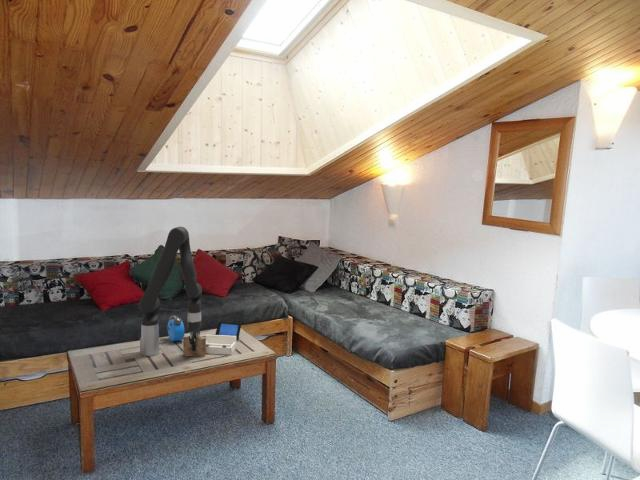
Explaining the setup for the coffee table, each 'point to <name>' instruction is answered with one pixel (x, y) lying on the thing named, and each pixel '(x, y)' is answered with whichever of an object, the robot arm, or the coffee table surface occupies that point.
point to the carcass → (220, 344)
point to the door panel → (199, 347)
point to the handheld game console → (228, 329)
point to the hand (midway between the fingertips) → (194, 349)
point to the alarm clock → (175, 329)
